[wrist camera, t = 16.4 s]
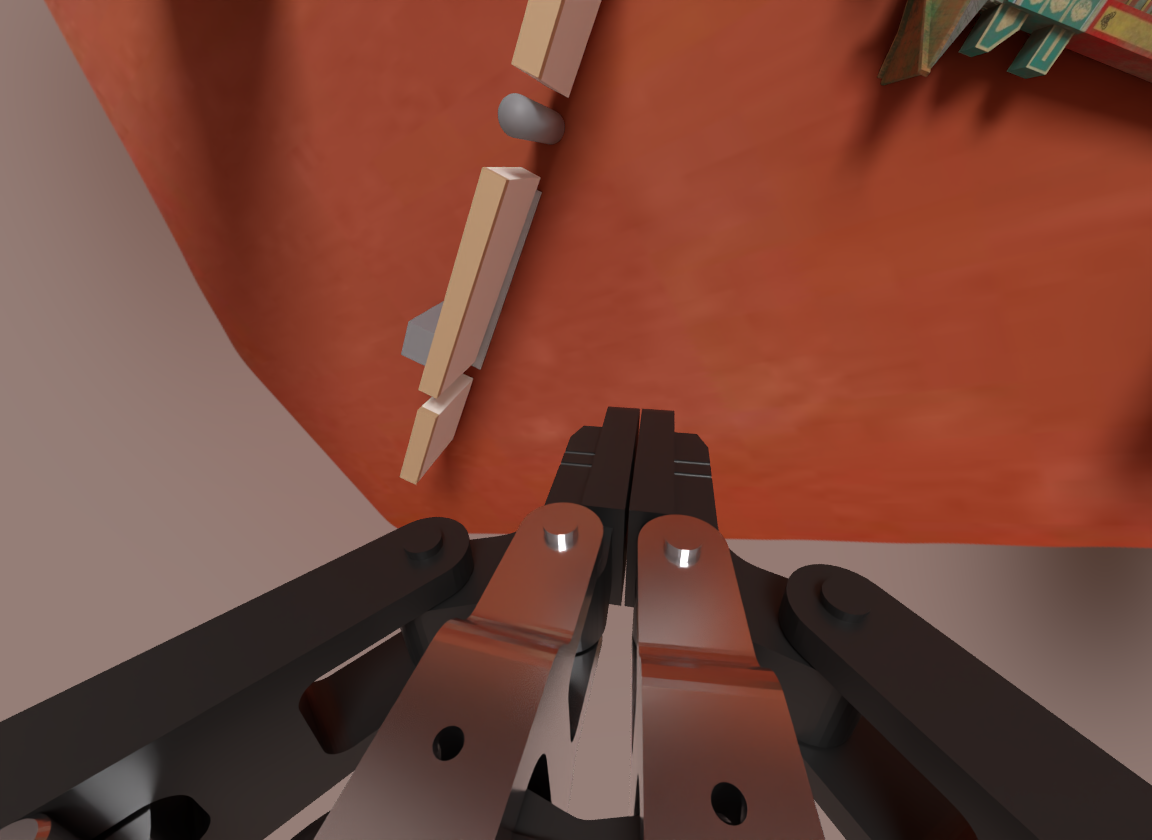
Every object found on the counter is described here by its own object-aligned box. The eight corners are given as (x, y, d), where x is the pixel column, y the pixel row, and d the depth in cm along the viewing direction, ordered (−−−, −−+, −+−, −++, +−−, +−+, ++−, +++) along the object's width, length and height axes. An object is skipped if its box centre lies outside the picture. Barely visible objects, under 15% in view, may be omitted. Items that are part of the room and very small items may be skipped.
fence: (413, 413, 45) (363, 460, 38) (555, -122, 25) (506, -242, 18) (459, 434, 46) (418, 485, 38) (636, -78, 25) (621, -178, 18)
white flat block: (521, 167, 32) (482, 167, 25) (540, 177, 32) (506, 179, 25) (459, 353, 40) (418, 389, 33) (475, 361, 40) (436, 398, 33)
